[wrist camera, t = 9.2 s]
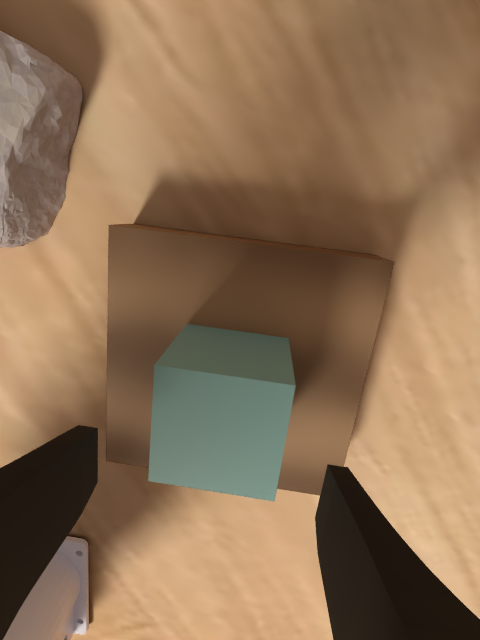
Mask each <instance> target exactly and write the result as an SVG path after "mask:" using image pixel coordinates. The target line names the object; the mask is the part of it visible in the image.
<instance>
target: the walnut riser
mask: <svg viewBox="0 0 480 640" xmlns="http://www.w3.org/2000/svg"><path fill="white" fill-rule="evenodd" d="M393 265H394V262H393V261H390V260H387V259H384V258H382V257H379V256H376V255H370V254H363V253H355V252H347V251H339V250H332V249H324V248H316V247H308V246H301V245H293V244H285V243H277V242H270V241H262V240H254V239H246V238H239V237H231V236H223V235H215V234H208V233H200V232H192V231H185V230H177V229H169V228H161V227H154V226H146V225H138V224H119V225H109V244H108V332H107V419H106V461H110V462H116V463H122V464H128V465H134V466H141V467H147V468H149V457H150V438H151V419H152V399H153V380H154V365H155V363H156V362H157V361H158V360H159V358H160V357H161V356H162V355H163V353H164V352H165V351H166V350H167V348H168V347H169V346H170V344H171V343H172V342H173V341H174V339H175V338H176V337H177V336H178V334H179V333H180V332H181V330H182V329H183V328H184V327H185V325H186V324H191V325H199V326H206V327H213V328H220V329H227V330H234V331H241V332H249V333H256V334H263V335H270V336H277V337H284V338H289V344H290V351H291V358H292V364H293V371H294V377H295V384H296V387H295V392H294V398H293V403H292V409H291V414H290V420H289V425H288V431H287V436H286V442H285V447H284V452H283V458H282V463H281V469H280V474H279V480H278V485H277V489H283V490H289V491H296V492H302V493H308V494H314V495H321V491H322V486H323V482H324V477H325V473H326V469H327V464H329V465H336V466H342V467H344V463H345V459H346V455H347V451H348V447H349V443H350V439H351V435H352V431H353V427H354V423H355V419H356V415H357V411H358V407H359V403H360V398H361V394H362V390H363V386H364V382H365V378H366V374H367V370H368V366H369V362H370V358H371V354H372V350H373V346H374V342H375V338H376V334H377V330H378V326H379V322H380V318H381V314H382V309H383V305H384V301H385V297H386V293H387V289H388V285H389V281H390V277H391V273H392V269H393Z"/></svg>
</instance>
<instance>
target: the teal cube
mask: <svg viewBox="0 0 480 640" xmlns="http://www.w3.org/2000/svg"><path fill="white" fill-rule="evenodd" d="M295 387H296V384H295V377H294V371H293V364H292V358H291V351H290V344H289V338H284V337H277V336H270V335H263V334H256V333H249V332H241V331H234V330H227V329H220V328H213V327H206V326H199V325H191V324H186V325H185V327H184V328H183V329H182V330H181V332H180V333H179V334H178V336H177V337H176V338H175V339H174V341H173V342H172V343H171V344H170V346H169V347H168V348H167V350H166V351H165V352H164V353H163V355H162V356H161V357H160V358H159V360H158V361H157V362H156V363H155V365H154V380H153V399H152V419H151V438H150V457H149V476H148V481H151V482H157V483H164V484H170V485H176V486H182V487H188V488H195V489H201V490H207V491H213V492H219V493H225V494H232V495H238V496H244V497H250V498H256V499H263V500H269V501H275V496H276V491H277V485H278V480H279V474H280V469H281V463H282V458H283V452H284V447H285V442H286V436H287V431H288V425H289V420H290V414H291V409H292V403H293V398H294V392H295Z"/></svg>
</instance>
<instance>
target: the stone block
mask: <svg viewBox="0 0 480 640" xmlns="http://www.w3.org/2000/svg"><path fill="white" fill-rule="evenodd" d="M82 100H83V89H82V87H81V85H80V83H79V81H78V80H77V78H76V77H75V76H74V75H72V74H70V73H69V72H67V71H66V70H64V69H63V68H62V67H61V66H60V65H59V64H57V63H56V62H54V61H52V60H51V58H49V57H48V56H46V55H44V54H42V53H40V52H39V51H37V50H36V49H34V48H32V47H31V46H29V45H28V44H26V43H24V42H22V41H19V40H17V39H15V38H13V37H11V36H9V35H7V34H6V33H4V32H2V31H0V248H2V247H17V246H23V245H25V244H26V243H27V244H28V243H29V242H31V241H33V240H36V239H38V238H39V237H41V236H44V235H46V234H47V233H48V231H49V230H50V228H51V227H52V224H53V221H54V219H55V217H56V215H57V213H58V212H59V210H60V209H61V207H62V204H63V202H64V200H65V197H66V195H65V191H66V181H67V175H68V173H69V166H68V157H69V154H70V150H71V146H72V144H73V142H74V138H75V136H76V133H77V128H78V121H79V114H80V107H81V103H82Z"/></svg>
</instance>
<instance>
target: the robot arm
mask: <svg viewBox="0 0 480 640" xmlns="http://www.w3.org/2000/svg"><path fill="white" fill-rule="evenodd" d="M97 471H98V428H93V427H86V426H80V425H79V426H77V427H75V428H73V429H71V430H69V431H67V432H65V433H63V434H62V435H60V436H58V437H56V438H55V439H53V440H51V441H49V442H47V443H46V444H44V445H42V446H40V447H39V448H37V449H35V450H33V451H31V452H30V453H28V454H26V455H24V456H22V457H21V458H19V459H17V460H15V461H13V462H11V463H9V464H7V465H5V466H4V467H2V468H0V640H70V639H71V637H72V635H73V633H75V634H82V635H83V634H85V633H86V632H87V630H88V628H89V578H88V542H87V541H86V540H84V539H81V538H76V537H70V536H67V535H68V534H69V532H70V531H71V529H72V528H73V526H74V525H75V523H76V522H77V520H78V519H79V517H80V515H81V514H82V512H83V510H84V508H85V506H86V504H87V502H88V500H89V498H90V496H91V494H92V492H93V490H94V488H95V486H96V484H97ZM315 521H316V537H317V549H318V557H319V563H320V569H321V574H322V580H323V585H324V591H325V596H326V601H327V607H328V612H329V618H330V623H331V628H332V634H333V639H334V640H480V619H479V618H478V617H477V616H476V615H474V614H473V613H472V612H471V611H470V610H469V609H468V608H467V607H466V606H465V605H464V604H463V603H462V602H461V601H460V600H459V599H458V598H457V597H456V596H455V595H454V594H453V593H452V592H451V591H450V590H449V589H448V588H447V587H446V586H445V585H444V584H443V583H442V582H441V581H440V580H439V579H438V578H437V577H436V576H435V575H434V574H433V573H432V572H431V570H430V569H429V568H428V567H427V566H426V565H425V564H424V563H423V562H422V561H421V560H420V558H419V557H418V556H417V555H416V554H415V553H414V552H413V550H412V549H411V548H410V547H409V546H408V545H407V543H406V542H405V541H404V540H403V539H402V538H401V536H400V535H399V534H398V533H397V532H396V530H395V529H394V528H393V527H392V525H391V524H390V523H389V522H388V520H387V519H386V518H385V517H384V515H383V514H382V513H381V512H380V510H379V509H378V508H377V506H376V505H375V504H374V502H373V501H372V500H371V498H370V497H369V496H368V494H367V493H366V492H365V490H364V489H363V487H362V486H361V485H360V483H359V482H358V481H357V479H356V478H355V477H354V475H353V474H352V472H351V471H350V470H349V468H348V467H342V466H336V465H329V464H327V469H326V473H325V477H324V482H323V486H322V491H321V495H320V499H319V504H318V508H317V512H316V517H315Z"/></svg>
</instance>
